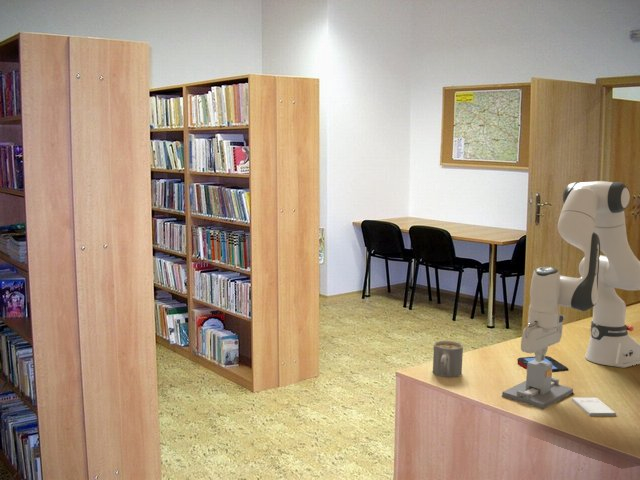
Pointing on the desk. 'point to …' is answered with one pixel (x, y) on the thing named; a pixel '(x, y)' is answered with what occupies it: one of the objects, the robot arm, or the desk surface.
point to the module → (539, 376)
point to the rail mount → (538, 394)
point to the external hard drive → (593, 406)
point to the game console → (555, 364)
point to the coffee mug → (447, 358)
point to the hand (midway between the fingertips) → (539, 360)
